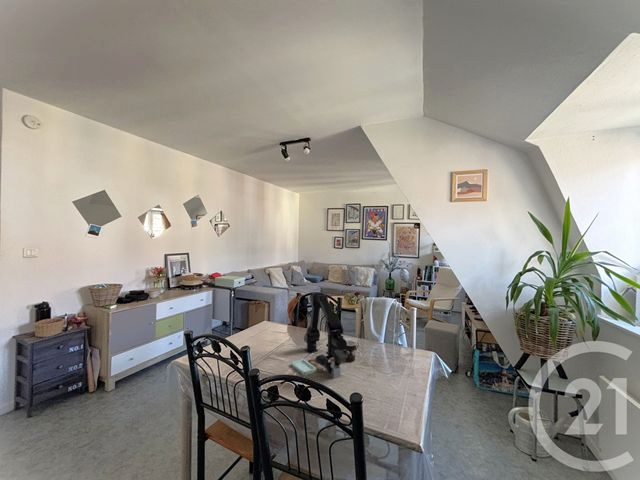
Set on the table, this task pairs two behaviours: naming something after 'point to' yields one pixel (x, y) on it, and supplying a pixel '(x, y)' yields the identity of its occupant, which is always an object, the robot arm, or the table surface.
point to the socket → (316, 365)
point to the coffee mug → (351, 350)
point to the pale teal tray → (304, 367)
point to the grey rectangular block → (334, 371)
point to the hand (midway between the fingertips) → (333, 372)
